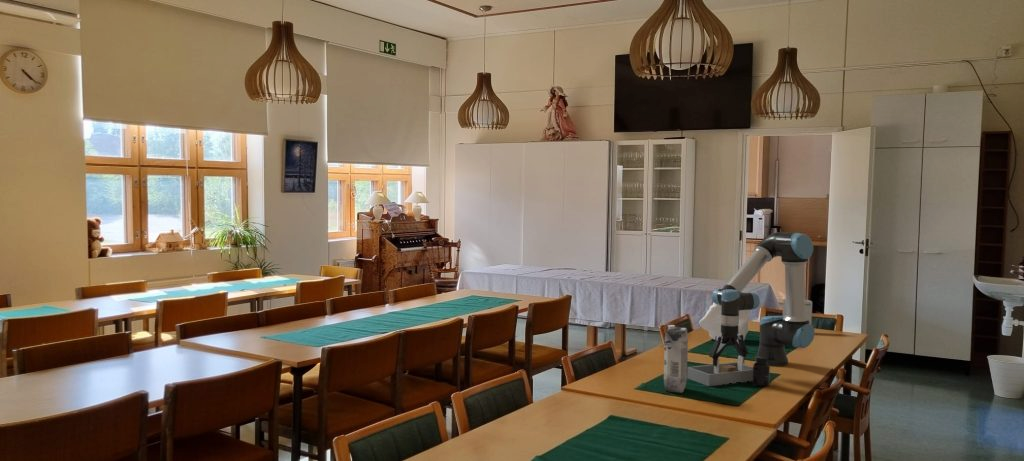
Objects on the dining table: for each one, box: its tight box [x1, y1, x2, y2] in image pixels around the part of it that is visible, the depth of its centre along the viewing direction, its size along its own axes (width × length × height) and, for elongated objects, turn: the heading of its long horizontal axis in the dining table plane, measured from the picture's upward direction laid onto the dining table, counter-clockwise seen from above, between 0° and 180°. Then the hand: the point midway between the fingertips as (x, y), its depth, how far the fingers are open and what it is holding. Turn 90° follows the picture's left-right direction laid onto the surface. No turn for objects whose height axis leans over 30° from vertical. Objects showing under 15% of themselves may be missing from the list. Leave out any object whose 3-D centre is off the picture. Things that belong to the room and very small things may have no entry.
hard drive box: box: [782, 298, 813, 325], centre depth 437 cm, size 16×8×20 cm, turn 81°
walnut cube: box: [720, 365, 737, 373], centre depth 322 cm, size 5×5×5 cm
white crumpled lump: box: [698, 302, 751, 343], centre depth 411 cm, size 21×27×26 cm
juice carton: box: [663, 324, 689, 394], centre depth 301 cm, size 9×10×27 cm
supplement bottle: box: [752, 356, 771, 388], centre depth 311 cm, size 7×7×12 cm
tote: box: [687, 361, 753, 387], centre depth 320 cm, size 28×15×5 cm, turn 114°
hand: (728, 371), depth 322 cm, fingers open, 13 cm apart
